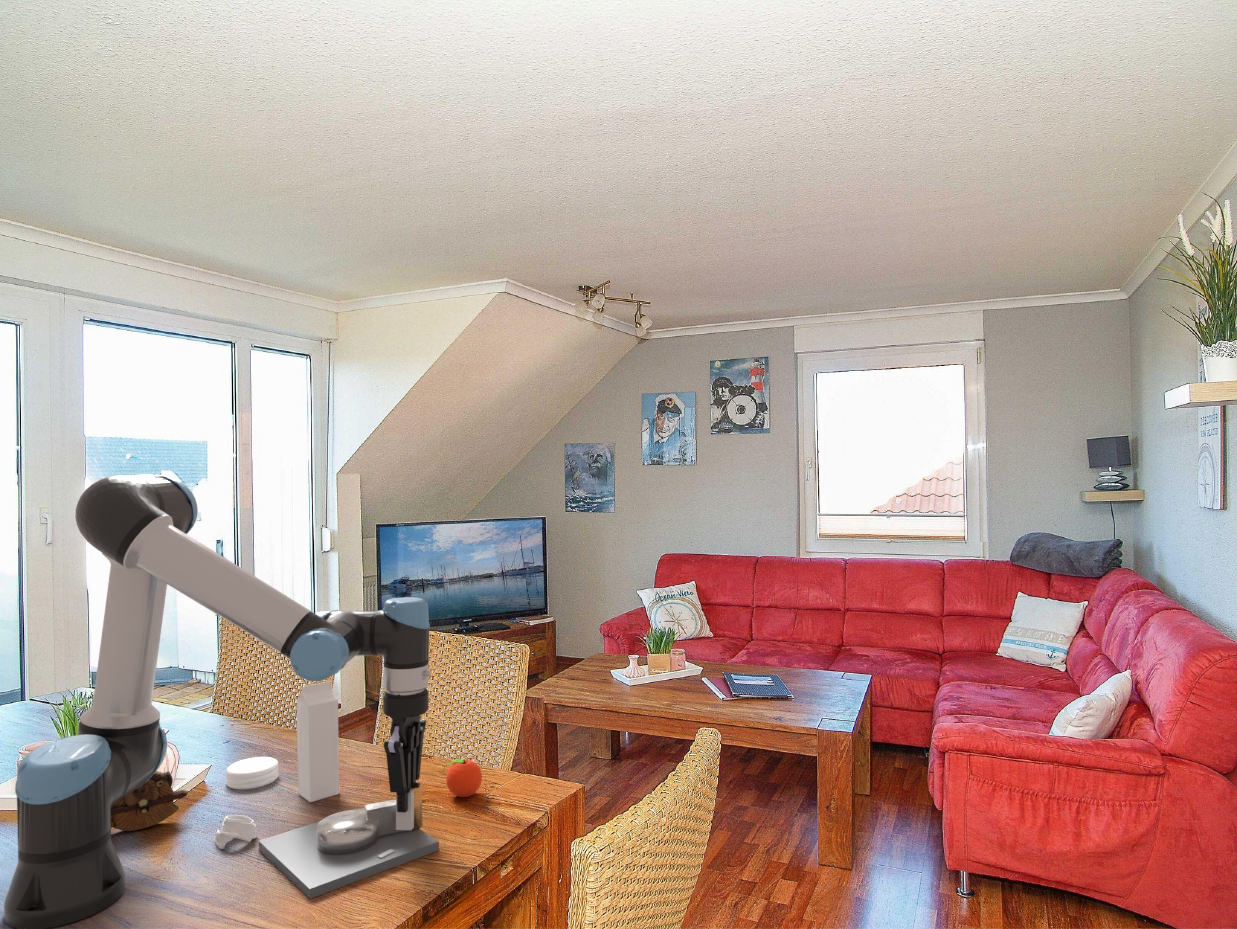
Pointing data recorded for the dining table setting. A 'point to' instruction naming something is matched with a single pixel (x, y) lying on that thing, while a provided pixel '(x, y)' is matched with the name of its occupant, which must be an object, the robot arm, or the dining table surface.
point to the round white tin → (252, 773)
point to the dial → (362, 826)
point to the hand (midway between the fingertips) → (404, 828)
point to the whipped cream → (235, 830)
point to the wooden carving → (147, 804)
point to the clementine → (463, 778)
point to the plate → (340, 857)
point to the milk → (317, 742)
